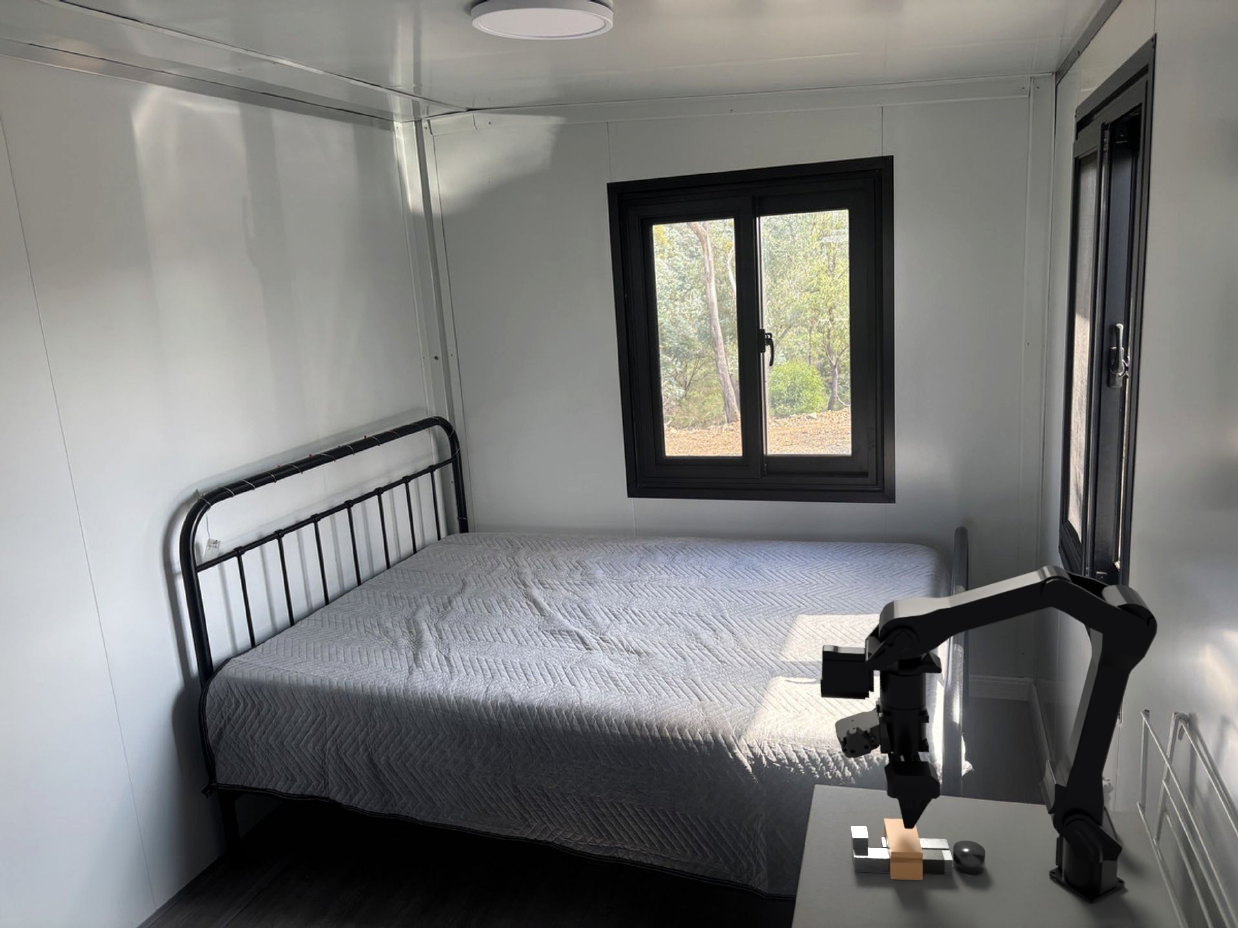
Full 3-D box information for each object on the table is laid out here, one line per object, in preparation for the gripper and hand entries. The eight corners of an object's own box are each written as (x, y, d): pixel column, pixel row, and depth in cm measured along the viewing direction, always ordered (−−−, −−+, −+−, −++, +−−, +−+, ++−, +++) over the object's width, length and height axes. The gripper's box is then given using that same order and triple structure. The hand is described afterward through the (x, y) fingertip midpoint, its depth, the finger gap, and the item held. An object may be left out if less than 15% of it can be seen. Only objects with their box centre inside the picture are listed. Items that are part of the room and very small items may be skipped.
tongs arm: (946, 853, 129) (946, 828, 129) (952, 874, 125) (952, 849, 124) (851, 850, 131) (851, 826, 131) (854, 871, 127) (854, 846, 126)
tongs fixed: (980, 855, 129) (981, 839, 128) (988, 875, 125) (988, 859, 124) (881, 852, 131) (881, 837, 130) (885, 872, 127) (885, 856, 126)
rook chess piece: (1108, 821, 134) (1111, 770, 132) (1121, 841, 130) (1124, 788, 128) (1074, 821, 134) (1077, 770, 132) (1086, 841, 130) (1089, 789, 128)
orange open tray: (914, 845, 131) (914, 818, 130) (922, 879, 125) (922, 852, 124) (884, 844, 132) (883, 818, 131) (890, 878, 125) (890, 851, 124)
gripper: (833, 666, 133) (835, 767, 137) (844, 736, 115) (847, 849, 119) (916, 666, 131) (916, 768, 135) (940, 737, 113) (940, 852, 117)
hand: (903, 806), depth 126 cm, fingers open, 9 cm apart
